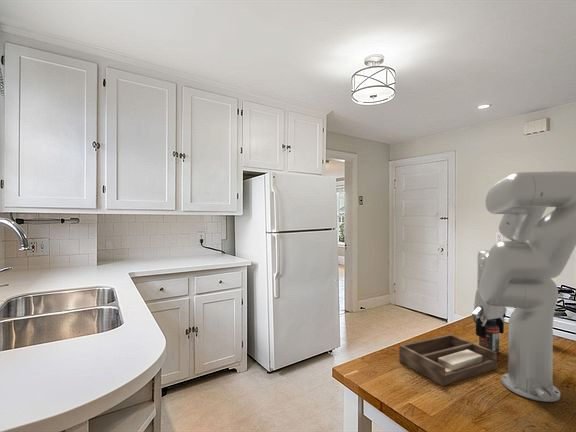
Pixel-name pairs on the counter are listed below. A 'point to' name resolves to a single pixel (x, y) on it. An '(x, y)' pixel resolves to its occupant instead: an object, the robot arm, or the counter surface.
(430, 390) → the counter surface
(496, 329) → the supplement bottle
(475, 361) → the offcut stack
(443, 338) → the walnut divided tray
